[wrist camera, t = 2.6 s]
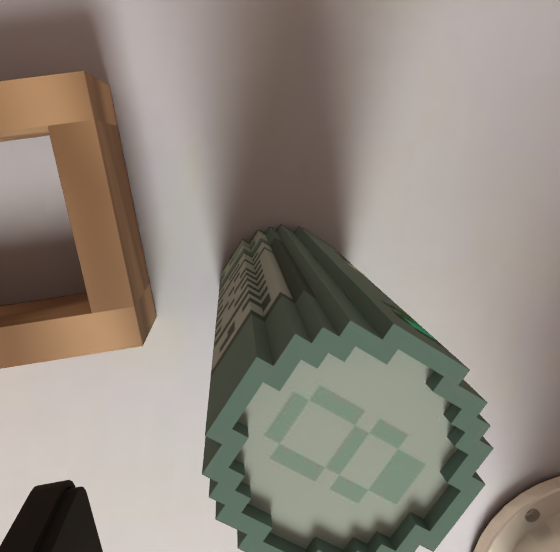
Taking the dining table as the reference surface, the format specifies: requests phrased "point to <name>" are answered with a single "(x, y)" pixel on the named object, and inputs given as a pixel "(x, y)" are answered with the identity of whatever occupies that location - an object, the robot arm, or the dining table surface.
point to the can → (333, 409)
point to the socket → (80, 224)
